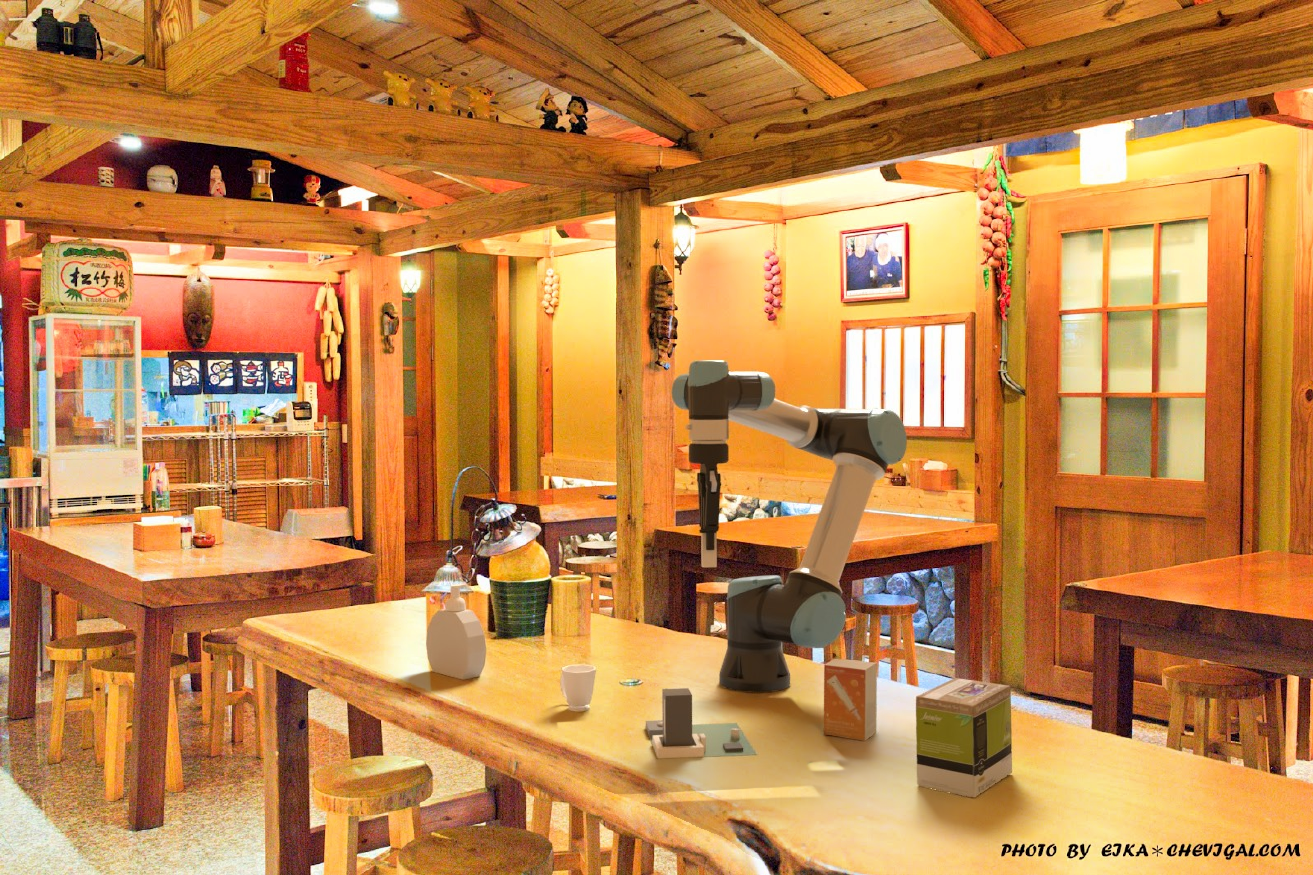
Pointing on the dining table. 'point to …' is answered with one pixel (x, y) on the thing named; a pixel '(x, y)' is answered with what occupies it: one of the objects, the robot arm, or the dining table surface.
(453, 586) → the soap bottle
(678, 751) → the frame
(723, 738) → the board
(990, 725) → the tea box
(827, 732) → the small box
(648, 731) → the grey push button
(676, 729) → the plug
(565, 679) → the cup
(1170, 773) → the dining table surface
